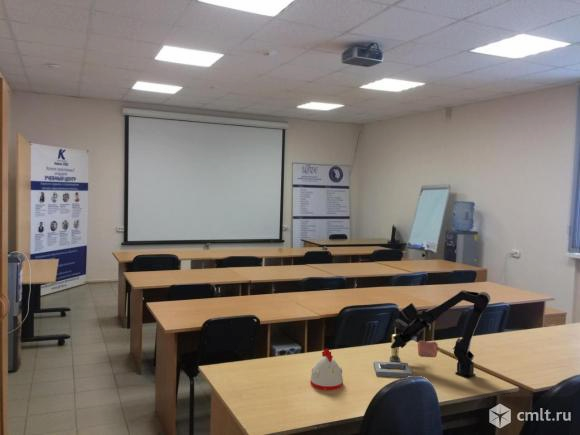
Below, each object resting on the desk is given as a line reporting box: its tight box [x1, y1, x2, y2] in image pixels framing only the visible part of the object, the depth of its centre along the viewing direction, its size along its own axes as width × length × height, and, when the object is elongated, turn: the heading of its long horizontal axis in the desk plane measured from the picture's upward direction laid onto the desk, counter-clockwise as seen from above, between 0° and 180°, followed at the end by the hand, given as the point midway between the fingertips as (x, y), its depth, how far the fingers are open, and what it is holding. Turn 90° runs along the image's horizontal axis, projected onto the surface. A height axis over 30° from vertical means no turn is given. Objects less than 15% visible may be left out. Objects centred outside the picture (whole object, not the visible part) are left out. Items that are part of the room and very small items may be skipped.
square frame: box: [373, 360, 413, 378], centre depth 210 cm, size 16×13×2 cm
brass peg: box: [389, 333, 401, 363], centre depth 223 cm, size 5×5×13 cm
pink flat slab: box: [417, 339, 438, 358], centre depth 243 cm, size 27×10×2 cm, turn 162°
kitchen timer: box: [310, 348, 344, 391], centre depth 195 cm, size 14×14×15 cm
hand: (392, 346), depth 224 cm, fingers closed on brass peg, 3 cm apart
